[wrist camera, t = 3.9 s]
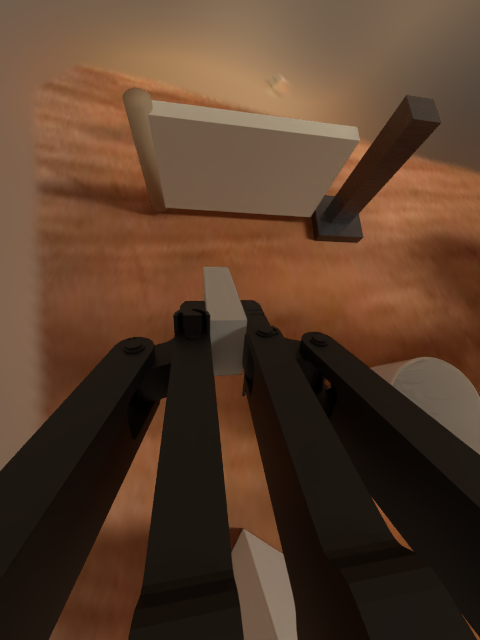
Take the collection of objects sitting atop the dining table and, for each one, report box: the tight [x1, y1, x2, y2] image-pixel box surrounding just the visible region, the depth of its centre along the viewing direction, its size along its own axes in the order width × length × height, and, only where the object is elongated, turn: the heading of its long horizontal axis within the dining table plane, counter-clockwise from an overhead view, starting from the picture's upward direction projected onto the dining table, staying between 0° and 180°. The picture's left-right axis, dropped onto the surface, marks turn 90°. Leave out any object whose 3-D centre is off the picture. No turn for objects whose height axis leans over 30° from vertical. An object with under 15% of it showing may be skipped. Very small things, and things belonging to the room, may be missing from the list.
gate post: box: [312, 95, 441, 243], centre depth 26 cm, size 6×6×14 cm
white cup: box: [330, 357, 480, 455], centre depth 22 cm, size 8×8×10 cm
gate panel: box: [123, 88, 360, 217], centre depth 25 cm, size 19×2×11 cm, turn 93°
